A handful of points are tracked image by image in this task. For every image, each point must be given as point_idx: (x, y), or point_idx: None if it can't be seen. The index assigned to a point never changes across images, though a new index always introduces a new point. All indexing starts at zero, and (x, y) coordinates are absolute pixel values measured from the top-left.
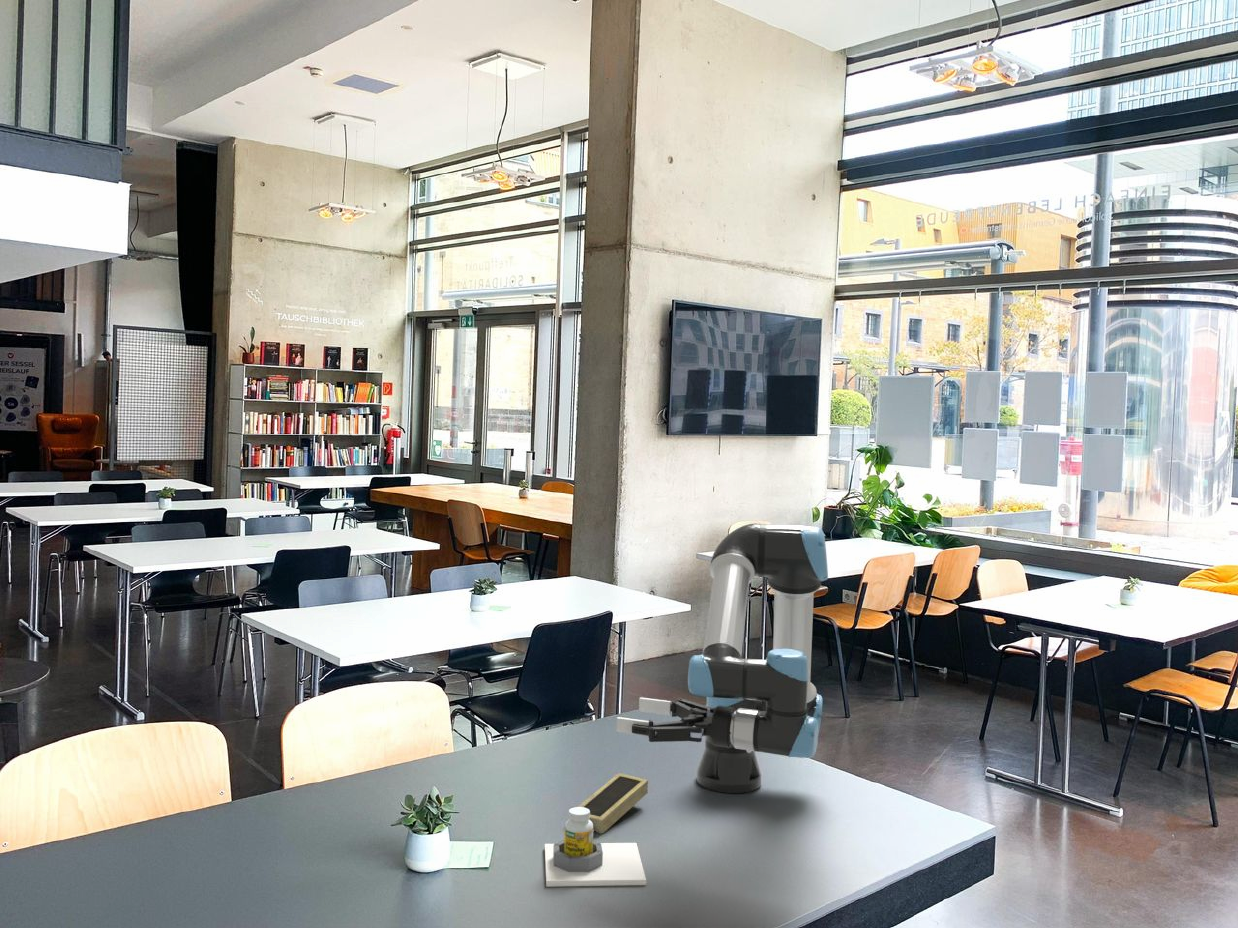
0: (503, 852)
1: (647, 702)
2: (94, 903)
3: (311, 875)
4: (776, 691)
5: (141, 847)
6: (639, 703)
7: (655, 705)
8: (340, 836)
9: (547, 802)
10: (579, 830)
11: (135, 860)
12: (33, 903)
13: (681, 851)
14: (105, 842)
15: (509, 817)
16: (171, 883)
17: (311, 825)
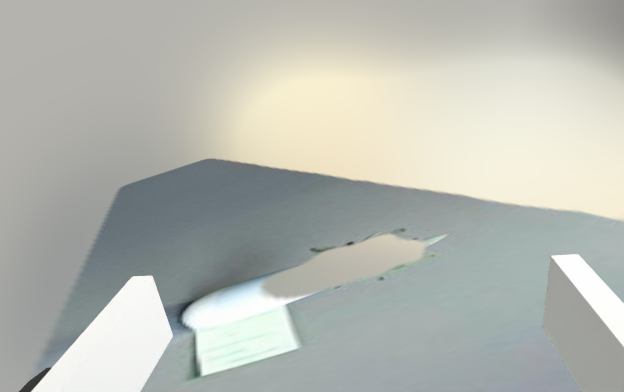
0: (258, 375)
1: (577, 313)
2: (134, 197)
3: (174, 250)
4: None
5: (223, 178)
6: (548, 286)
7: (609, 377)
8: (268, 233)
9: (508, 360)
10: None
11: (202, 184)
12: (138, 184)
13: None
14: (229, 168)
15: (401, 333)
16: (163, 206)
17: (288, 212)
